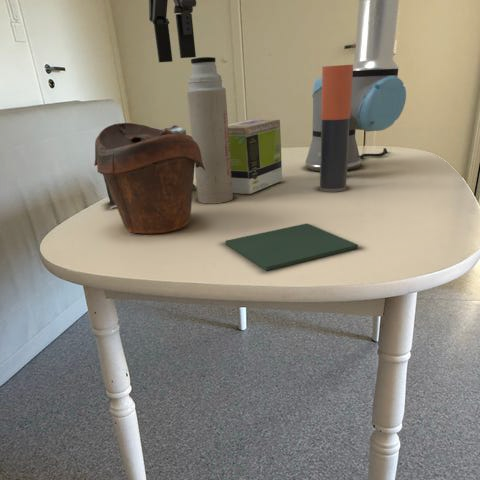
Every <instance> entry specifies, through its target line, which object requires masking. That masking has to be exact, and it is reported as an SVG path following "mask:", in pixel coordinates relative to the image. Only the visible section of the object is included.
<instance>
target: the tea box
mask: <svg viewBox="0 0 480 480" xmlns="http://www.w3.org/2000/svg"><path fill="white" fill-rule="evenodd" d="M228 132H229V147H230V161H231V176H232V191H233V194H239V195H240V194H241V195H251V194H254V193H256V192H258V191H261V190H263V189H266V188H268V187H271V186H273V185H275V184H278V183H281V182H283V166H282V165H283V163H282V139H281V138H282V137H281V119H248V120H247V119H246V120H242V121H237V122H233V123H228Z"/></svg>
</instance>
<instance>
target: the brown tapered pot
mask: <svg viewBox="0 0 480 480" xmlns="http://www.w3.org/2000/svg"><path fill="white" fill-rule="evenodd" d="M164 129H165V131H163V129H160V128H155V127H151V126H148V125H144V124H139V123H132V122H118V123H114V124H111V125H108V126H106V127H104V129H102V130H101V131H100V132H99V134H98V136H97V137H96V138H95V141H94V164H93V165H94V167H96V166H97V168H96V169H97V173H98V174H100V175H103V174H104V176H105V179H106V181H107V184H108V187H109V189H110V192H111V194H112V196H113V199H114V201H115V204H116V206H117V208H116V209H117V211H118V213H119V217H120V218H121V221H122V224H123V226H124V228H125V230H127V232H129V233H132V234H141V235H142V234H143V235H145V234H146V235H148V234H149V235H151V234H165V233H170V232H175V231H178V230H181V229H182V228H184V227H186V226H188V224H189V223H190V222H191V218H192V202H193V190H194V189H193V184H194V178H195V163H196V167H197V168H198V167H202V168H203V169H204V170H205V168H204V166H203V162H202V158H201V152H200V148H199V146H198V144H197V143H196V142H195V141H194V140H193V138H192V136H191V135H189V134H186V135H185V134H173V133H171V132H172V131H171V130H168V129H166V127H165V128H164ZM205 171H206V170H205Z"/></svg>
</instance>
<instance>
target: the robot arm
mask: <svg viewBox="0 0 480 480" xmlns="http://www.w3.org/2000/svg"><path fill="white" fill-rule="evenodd" d="M399 1H400V0H358V9H357V21H356V22H357V23H356V37H355V51H354V61H353V63H351V65H353V76H352V95H351V113H350V123H349V142H348V161H347V171H352V170H356V169H358V168H360V167H361V160H364V159H365V158H368V157H369V158H371V157H372V158H379V157H383V156H385V155H386V154H388V150H387V147H384V148H383V150H382V152H380V153H361V154H360V152H359V148H358V145H357V144H358V143H357V140H356V130H359V131H365V132H369V133H370V132H380V131H385V130H387V129H388V128H390V127H391V126H393V125H394V124H395V122H396V121H398V119H399V118H400V116H402V115H401V114H402V113H403V111H404V108H405V105H406V102H407V101H406V100H407V89H406V86H404V81H403V80H402V79H401V78H399V66H398V64H397V63H396V62H395V61H394V50H395V41H396V31H397V22H398V12H399ZM173 3H174V8H173V14H175V22H176V31H177V41H178V50H179V57H180V59H190V58H191V59H193V58H197V54H196V45H195V44H196V43H195V32H194V25H193V24H194V23H193V14H192V13H193V12H194V7H197V0H173ZM167 12H168V0H148V20H149V21H150V22H151V23H152V25H153V28H154V35H155V43H156V51H157V57H158V63H172V62H173V53H172V45H171V36H170V29H169V27H170V26H169V25H170V20H169V19H168V18H167V14H168V13H167ZM312 88H313V89H312V95H311V96H312V139H311V143H310V146H309V149H308V152H307V156H306V159H305V169H306V170H308V171H312V172H320V162H321V123H322V119H321V104H322V76H321V77H318V78H316V80H315V81H314V83H313V87H312Z"/></svg>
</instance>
